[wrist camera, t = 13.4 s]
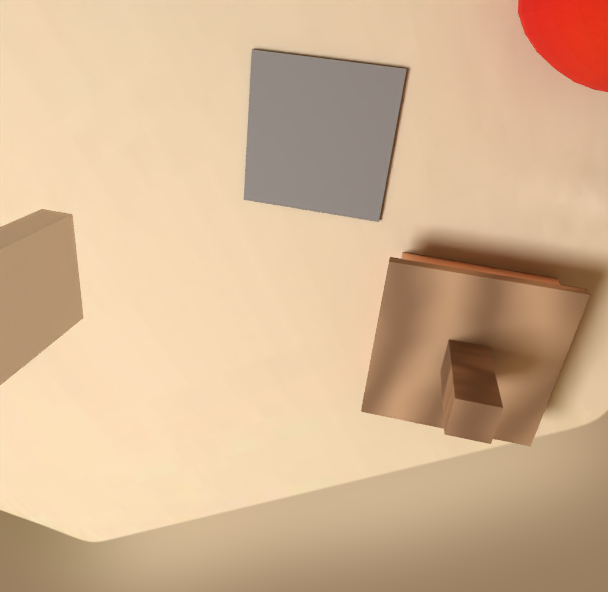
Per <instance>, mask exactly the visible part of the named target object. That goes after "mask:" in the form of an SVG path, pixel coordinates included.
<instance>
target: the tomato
mask: <svg viewBox="0 0 608 592" xmlns="http://www.w3.org/2000/svg"><path fill="white" fill-rule="evenodd" d="M518 14H519V17H520V20H521V23H522V26H523V29H524V32H525V34H526V36H527V37H528V39H529V40H530V42H531V43H532V45H533V47H534V48H535V50H536V51H537V52H538V53H539V54H540V55H541V56H542V57H543V58H544V59H545V60H546V61H547V62H548V63H549V64H551V65H552V66H553V67H554V68H555V69H556V70H557V71H559V72H560V73H562V74H563V75H565V76H566V77H568V78H569V79H571V80H572V81H574V82H576V83H578V84H581V85H584V86H586V87H589V88H592V89H595V90H600V91H605V92H608V0H519V1H518Z"/></svg>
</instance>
